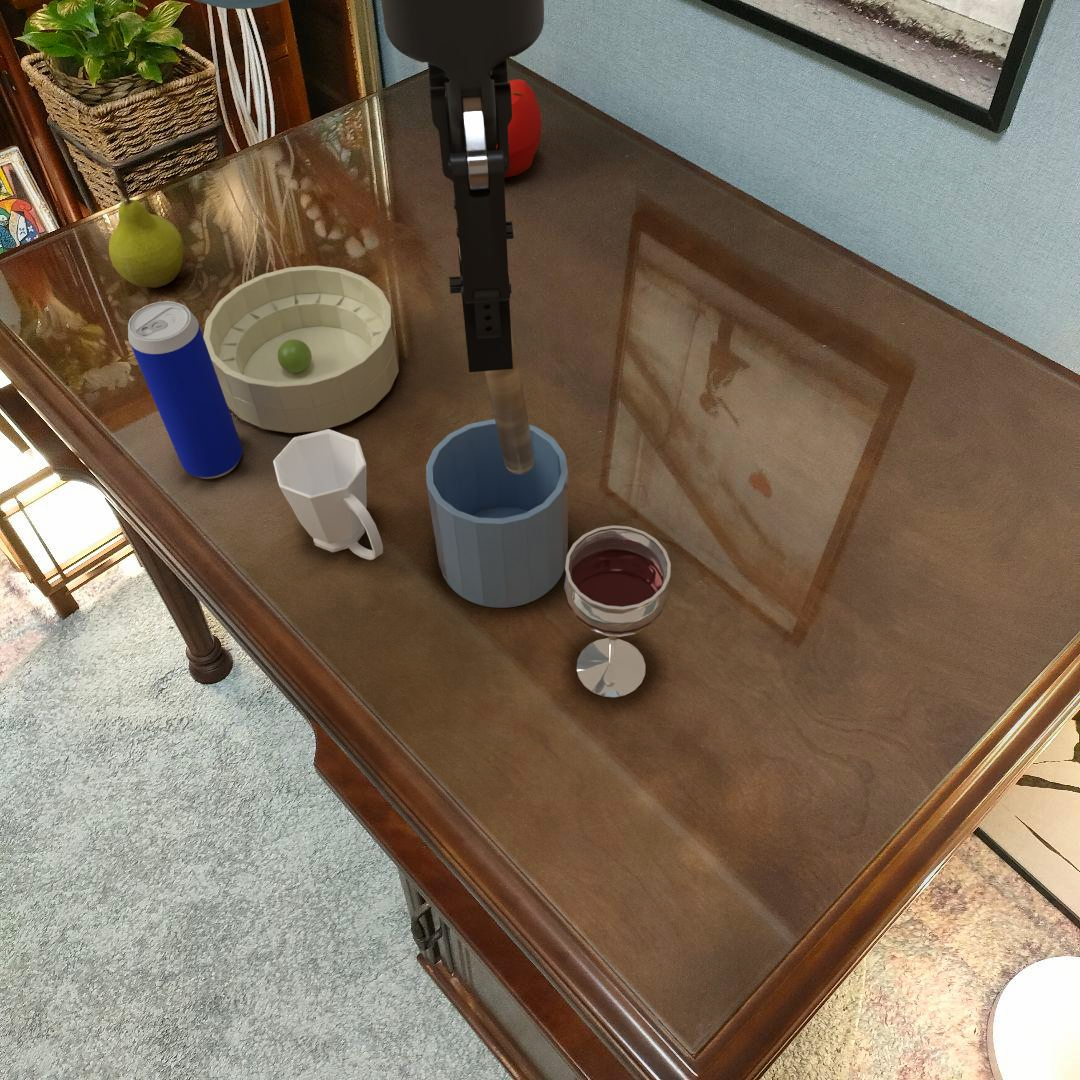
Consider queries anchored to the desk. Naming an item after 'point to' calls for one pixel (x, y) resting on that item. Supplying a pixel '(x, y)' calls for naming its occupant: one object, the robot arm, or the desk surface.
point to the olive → (294, 356)
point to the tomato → (523, 127)
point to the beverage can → (185, 388)
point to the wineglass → (615, 602)
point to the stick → (511, 416)
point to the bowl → (324, 326)
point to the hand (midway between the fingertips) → (489, 350)
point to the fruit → (145, 246)
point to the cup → (329, 490)
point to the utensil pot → (498, 516)
